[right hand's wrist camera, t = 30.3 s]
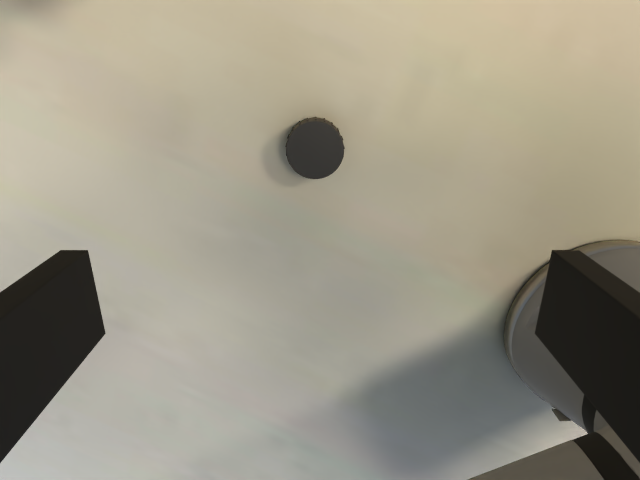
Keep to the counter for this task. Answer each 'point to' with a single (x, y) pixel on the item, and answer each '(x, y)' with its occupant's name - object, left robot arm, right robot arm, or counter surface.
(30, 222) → the counter surface
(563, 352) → the right robot arm
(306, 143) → the cap
